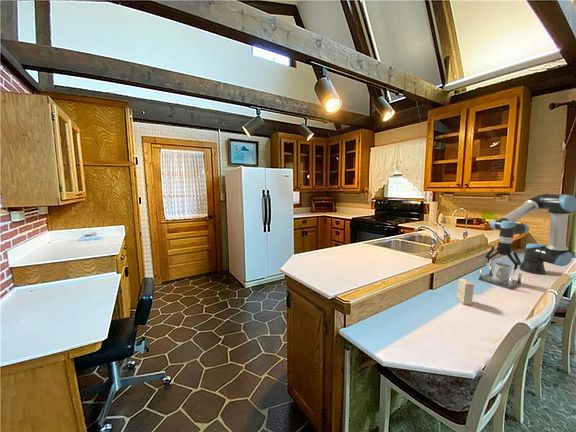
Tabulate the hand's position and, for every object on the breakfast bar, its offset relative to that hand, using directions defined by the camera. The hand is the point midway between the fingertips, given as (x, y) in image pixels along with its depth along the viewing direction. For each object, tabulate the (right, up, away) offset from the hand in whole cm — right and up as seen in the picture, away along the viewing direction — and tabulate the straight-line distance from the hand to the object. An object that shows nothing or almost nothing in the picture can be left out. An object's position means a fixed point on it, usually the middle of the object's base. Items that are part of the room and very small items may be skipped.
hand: (500, 270), depth 178 cm
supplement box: (-48, -13, -29) cm, 58 cm away
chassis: (0, -9, +1) cm, 9 cm away
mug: (0, -7, +1) cm, 7 cm away
